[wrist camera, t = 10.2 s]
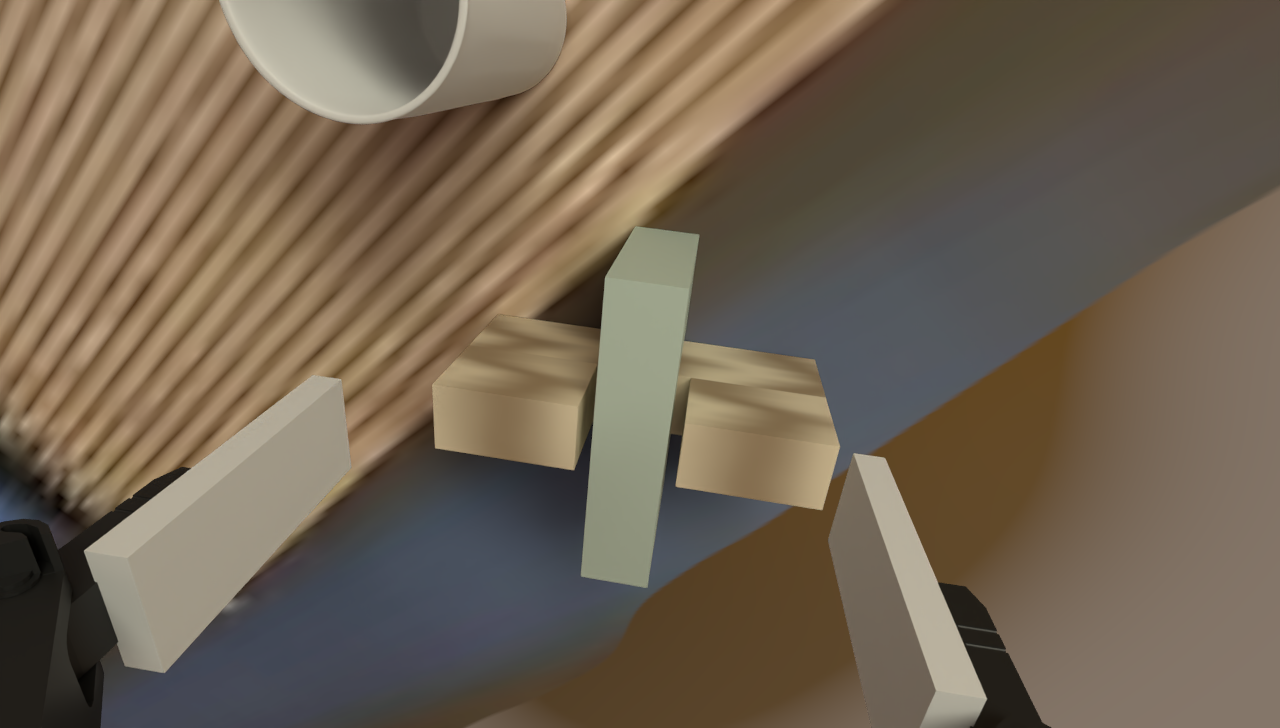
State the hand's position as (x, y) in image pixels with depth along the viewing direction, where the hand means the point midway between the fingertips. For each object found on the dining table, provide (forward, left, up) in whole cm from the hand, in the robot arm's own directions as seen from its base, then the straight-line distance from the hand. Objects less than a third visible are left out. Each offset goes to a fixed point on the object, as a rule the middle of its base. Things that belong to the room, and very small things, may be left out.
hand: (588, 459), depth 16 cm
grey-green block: (0, -5, -16) cm, 16 cm away
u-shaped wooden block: (0, -5, -16) cm, 16 cm away
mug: (-7, +11, -16) cm, 21 cm away
